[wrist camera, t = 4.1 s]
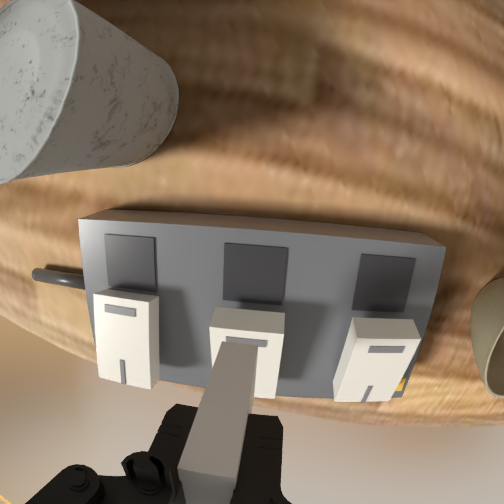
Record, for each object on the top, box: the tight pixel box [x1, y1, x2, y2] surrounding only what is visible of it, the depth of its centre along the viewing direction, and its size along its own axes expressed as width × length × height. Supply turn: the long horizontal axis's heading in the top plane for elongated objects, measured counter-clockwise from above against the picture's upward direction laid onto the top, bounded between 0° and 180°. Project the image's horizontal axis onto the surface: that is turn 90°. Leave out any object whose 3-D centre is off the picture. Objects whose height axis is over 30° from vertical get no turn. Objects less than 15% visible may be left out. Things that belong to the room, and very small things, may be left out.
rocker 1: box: [93, 289, 160, 390], centre depth 19 cm, size 4×6×2 cm, turn 177°
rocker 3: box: [333, 317, 421, 403], centre depth 18 cm, size 4×6×2 cm, turn 177°
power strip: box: [32, 209, 446, 398], centre depth 22 cm, size 33×12×4 cm, turn 87°
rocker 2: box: [209, 307, 285, 399], centre depth 19 cm, size 4×6×2 cm, turn 177°
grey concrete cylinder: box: [0, 0, 179, 184], centre depth 15 cm, size 10×10×12 cm
